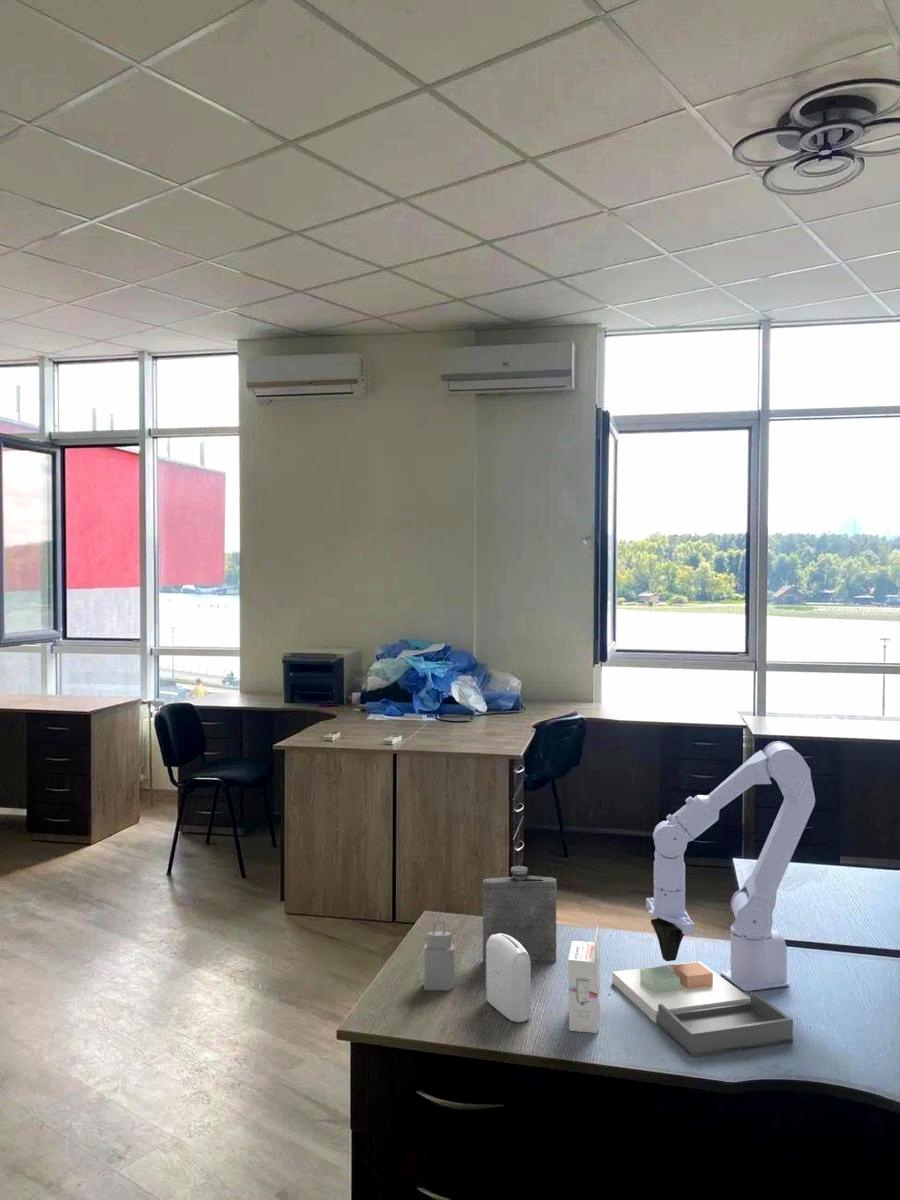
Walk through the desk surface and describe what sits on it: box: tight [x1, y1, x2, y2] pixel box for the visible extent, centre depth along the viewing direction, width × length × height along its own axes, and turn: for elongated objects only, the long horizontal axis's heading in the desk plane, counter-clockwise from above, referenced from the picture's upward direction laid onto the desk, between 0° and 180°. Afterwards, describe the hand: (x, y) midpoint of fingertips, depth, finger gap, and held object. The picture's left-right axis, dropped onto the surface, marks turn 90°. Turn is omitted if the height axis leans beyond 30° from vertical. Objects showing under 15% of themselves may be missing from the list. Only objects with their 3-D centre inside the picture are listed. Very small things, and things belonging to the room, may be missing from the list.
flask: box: [482, 865, 557, 965], centre depth 171 cm, size 4×14×18 cm, turn 94°
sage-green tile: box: [639, 965, 680, 993], centre depth 156 cm, size 5×5×2 cm
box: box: [655, 991, 794, 1058], centre depth 143 cm, size 18×11×4 cm, turn 106°
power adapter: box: [423, 919, 455, 991], centre depth 160 cm, size 3×5×12 cm, turn 91°
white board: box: [612, 960, 750, 1024], centre depth 156 cm, size 18×16×2 cm
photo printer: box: [485, 933, 532, 1023], centre depth 151 cm, size 10×4×12 cm, turn 26°
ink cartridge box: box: [567, 925, 601, 1034], centre depth 147 cm, size 9×5×15 cm, turn 168°
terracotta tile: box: [672, 961, 713, 989], centre depth 157 cm, size 5×5×2 cm
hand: (669, 959), depth 165 cm, fingers closed
